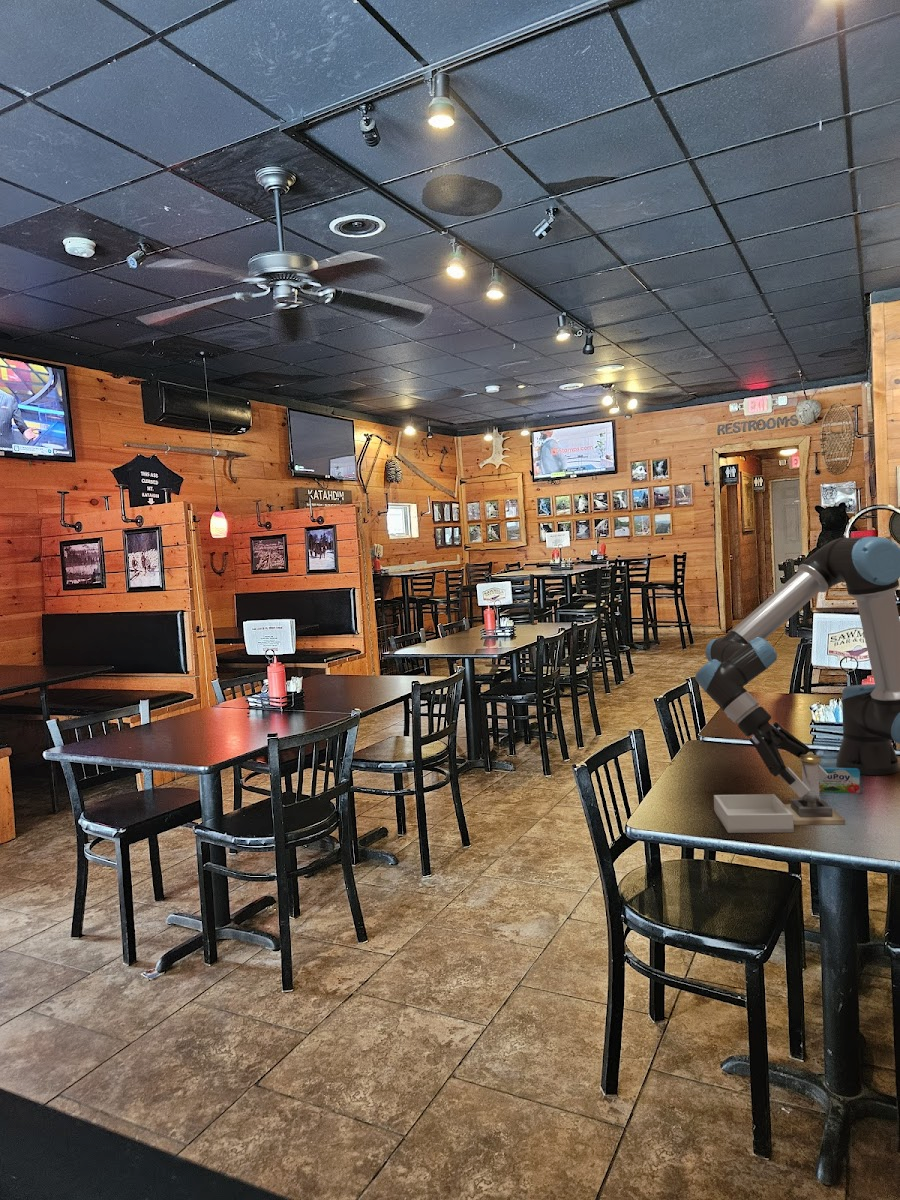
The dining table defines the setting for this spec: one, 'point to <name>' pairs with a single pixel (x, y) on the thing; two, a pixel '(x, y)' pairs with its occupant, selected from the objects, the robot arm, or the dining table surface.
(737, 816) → the tray
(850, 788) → the blue box
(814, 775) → the gold-capped canister
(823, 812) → the canister holder base
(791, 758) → the dining table surface
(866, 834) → the dining table surface
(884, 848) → the dining table surface
